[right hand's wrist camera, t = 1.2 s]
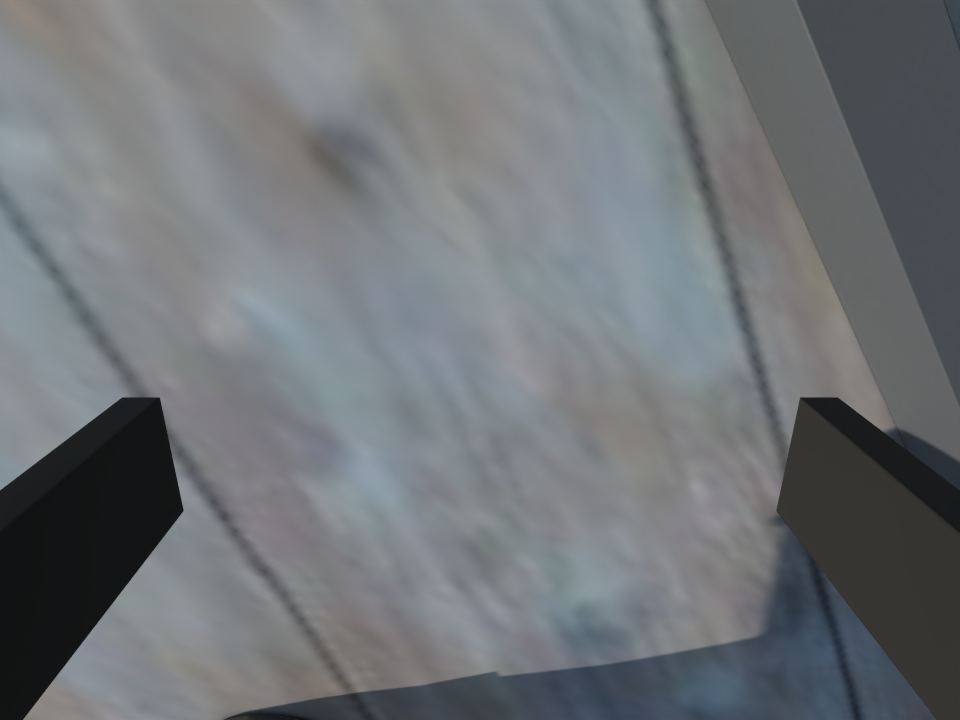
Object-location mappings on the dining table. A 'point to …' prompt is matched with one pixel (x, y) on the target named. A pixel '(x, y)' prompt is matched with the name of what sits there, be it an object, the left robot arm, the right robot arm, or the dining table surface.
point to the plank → (872, 181)
